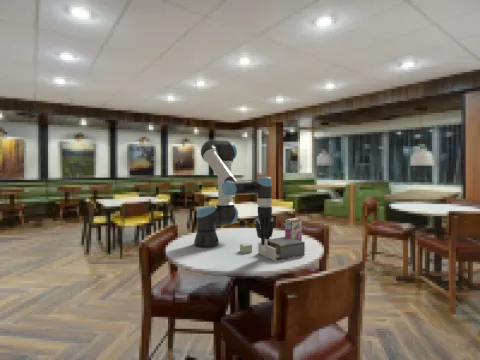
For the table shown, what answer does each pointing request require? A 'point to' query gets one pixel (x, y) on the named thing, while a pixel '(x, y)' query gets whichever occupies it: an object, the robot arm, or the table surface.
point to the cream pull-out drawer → (268, 252)
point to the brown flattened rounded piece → (276, 248)
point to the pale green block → (246, 248)
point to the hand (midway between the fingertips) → (264, 250)
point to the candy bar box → (293, 228)
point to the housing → (288, 247)
